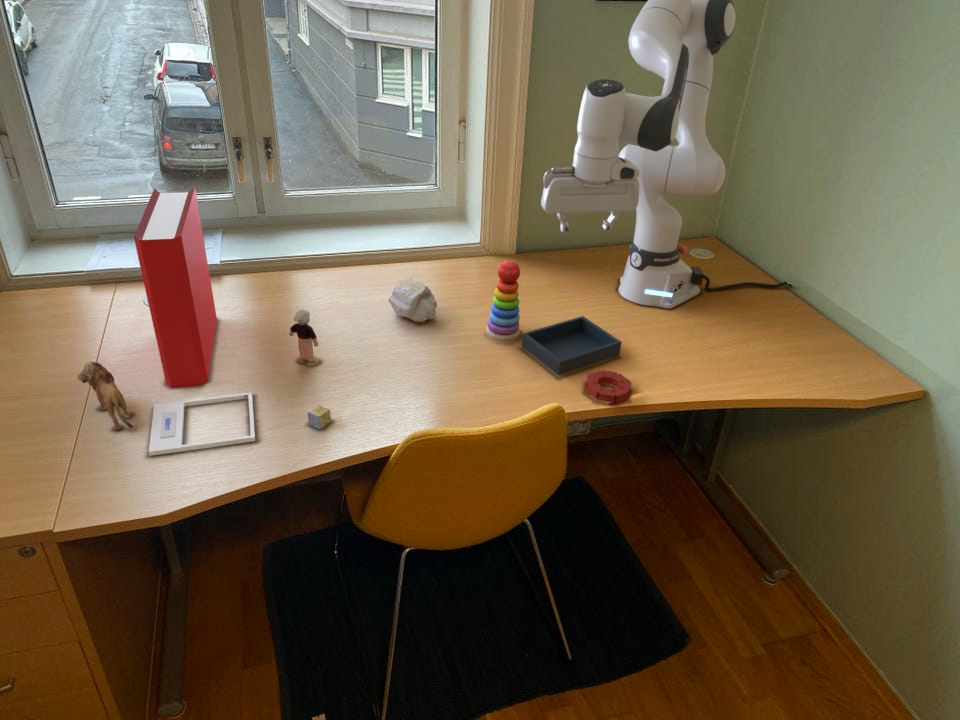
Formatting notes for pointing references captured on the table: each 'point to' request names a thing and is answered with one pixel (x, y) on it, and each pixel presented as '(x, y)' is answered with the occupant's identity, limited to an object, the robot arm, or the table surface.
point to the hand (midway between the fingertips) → (585, 230)
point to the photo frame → (171, 422)
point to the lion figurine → (105, 391)
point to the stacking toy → (505, 304)
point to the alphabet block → (319, 417)
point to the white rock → (413, 300)
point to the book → (178, 286)
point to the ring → (605, 394)
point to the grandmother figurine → (304, 337)
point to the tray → (571, 345)
